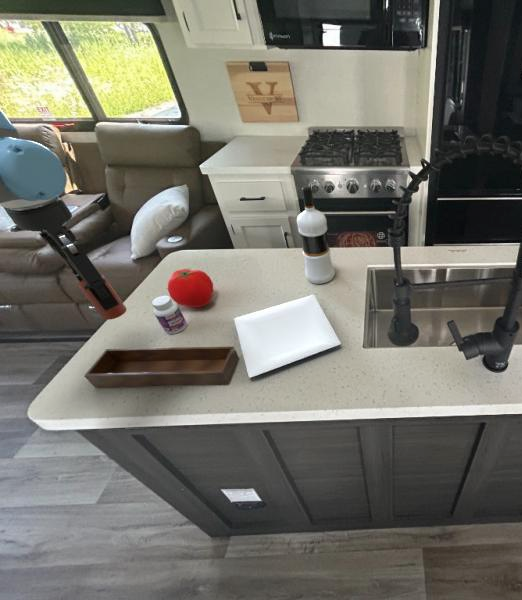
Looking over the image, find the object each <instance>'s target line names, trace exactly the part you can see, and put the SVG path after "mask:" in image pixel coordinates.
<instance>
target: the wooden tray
mask: <svg viewBox="0 0 522 600" xmlns="http://www.w3.org/2000/svg"><path fill="white" fill-rule="evenodd" d="M239 360H240V356H239V354H238V352H237V350H236V347H235V346H233V345H232V346H189V347H184V346H183V347H140V348H139V347H137V348H133V347H132V348H130V347H129V348H106V349H105V350H104V351H103V353H102V354H101V355H100V356H99V357H98V359H97V360H95V362H94V363H93V365H91V367H90V368H89V369H88V371H86V373H85V374H84V378H85V379H86V380H87V381H88V382H89V383H90V385H92V386H93V387H94V389H111V388H115V389H116V388H149V387H150V388H153V387H189V386H190V387H191V386H225V385H226V386H227V385H229V384H230V382H231V379H232V377H233V374H234V372H235V370H236V368H237V365H238V362H239Z"/></svg>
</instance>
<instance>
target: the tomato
mask: <svg viewBox="0 0 522 600" xmlns="http://www.w3.org/2000/svg"><path fill="white" fill-rule="evenodd" d="M167 291H168V294H169V297H170V299H171V300H172V301H173V302H175V303H176V304H177V305H180V306H184V307H188V308H200V307H204V306H207V305H208V304H209V303H210V301H211V299H212V296H213V292H214V283H213V281H212V279H211V277H210V275H208V274H207V273H206V272H205V271H203V270H200V269H192V267H191V268H182V269H178V270H175V271H174V272H172V274H171V277H170V278H169V279H168V282H167Z"/></svg>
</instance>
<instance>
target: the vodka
mask: <svg viewBox="0 0 522 600" xmlns="http://www.w3.org/2000/svg"><path fill="white" fill-rule="evenodd" d="M301 192H302V198H303V205H304V210H303V211H302V212H301V213H299V214H298V216H297V218H296V225H297V229H298V230H297V231H298V232H299V233H298V234H299V237H300V242H301V247H302V255H303V258H304V265H305V271H304V273H305V274H304V275H305V278H306V280H307V281H308V282H310V283H312V284H316V285H321V284H326V283H329V282H330V281H331V280H333V278H334V277H335V269H334V266H333V262H332V259H331V248H330V242H329V235H328V224H327V223H328V222H327V217H326V215H325V214H324V213H323V212H322V211H320V210H318V209H316V208H315V202H314V198H313V197H314V196H313V188H312V186H307V185H306V186H303V187H301Z"/></svg>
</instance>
